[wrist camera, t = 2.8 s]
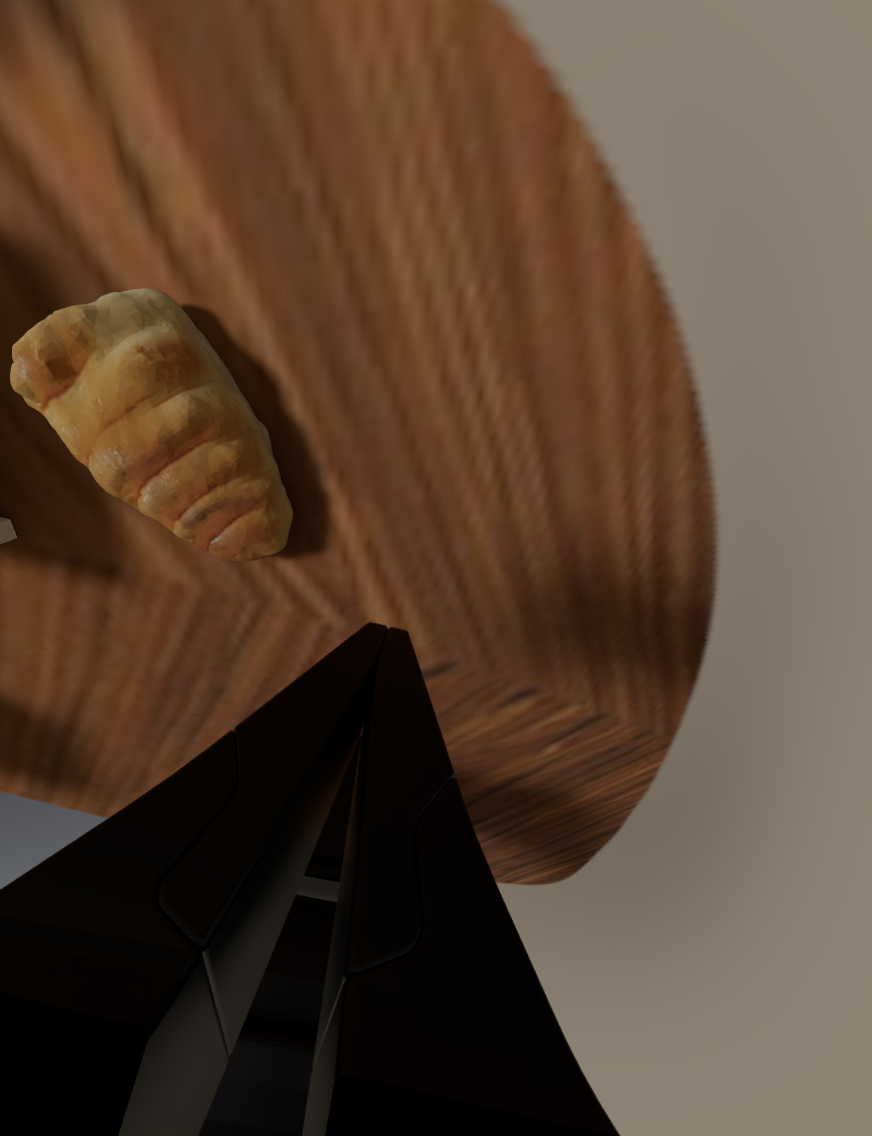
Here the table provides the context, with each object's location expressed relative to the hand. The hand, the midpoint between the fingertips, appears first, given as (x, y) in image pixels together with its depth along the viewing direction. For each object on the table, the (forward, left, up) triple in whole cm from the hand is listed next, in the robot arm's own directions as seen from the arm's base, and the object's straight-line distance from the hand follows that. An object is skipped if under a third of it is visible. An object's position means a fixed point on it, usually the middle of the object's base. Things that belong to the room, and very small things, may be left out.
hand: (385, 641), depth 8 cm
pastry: (+9, -1, -9) cm, 13 cm away
